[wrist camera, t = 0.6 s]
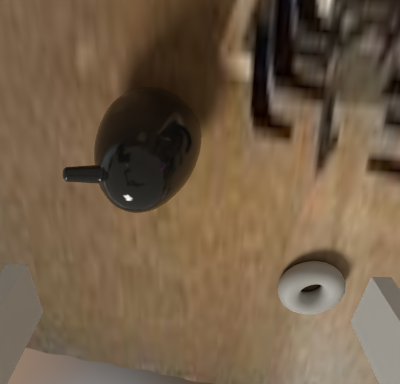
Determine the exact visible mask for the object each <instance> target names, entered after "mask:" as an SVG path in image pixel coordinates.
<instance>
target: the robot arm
mask: <svg viewBox="0 0 400 384" xmlns="http://www.w3.org/2000/svg"><path fill="white" fill-rule="evenodd" d="M42 314H43V310H42V307H41V304H40V301H39V298H38V295H37V292H36V289H35V286H34V283H33V280H32V277H31V274H30V271H29V268H28V265H22V264H7V265H6V266H5V267H4V269H3V270H2V271H1V273H0V384H7V383H8V381H9V379H10V377H11V375H12V373H13V371H14V369H15V367H16V365H17V363H18V361H19V359H20V357H21V355H22V353H23V351H24V349H25V347H26V345H27V344H28V342H29V340H30V338H31V336H32V334H33V332H34V330H35V328H36V326H37V324H38V322H39V320H40V318H41V316H42ZM350 323H351V325H352V327H353V329H354V331H355V333H356V335H357V337H358V340H359V342H360V344H361V346H362V348H363V350H364V352H365V354H366V357H367V359H368V361H369V363H370V365H371V367H372V369H373V371H374V374H375V376H376V378H377V380H378V382H379V384H400V289H399V288H398V286H397V285H396V284H395V282H394V281H393V279H392V278H390V277H371V279H370V282H369V284H368V286H367V288H366V290H365V292H364V294H363V296H362V299H361V301H360V303H359V305H358V307H357V309H356V311H355V314H354V316H353V318H352V320H351V322H350Z"/></svg>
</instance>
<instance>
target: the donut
mask: <svg viewBox="0 0 400 384" xmlns="http://www.w3.org/2000/svg"><path fill="white" fill-rule="evenodd" d="M315 284H319V285H321V286H320V287H319V288H318V289H316V290H314V291H310V292H302V291H301V290H302V289H303V288H305V287H307V286H309V285H315ZM345 284H346V283H345V280H344V278H343V275H342V273H341V272H340V271H339V270H338V269H336V268H335V267H334V266H333V265H330V264H328V263H325V262H320V261H309V262H303V263H300V264H297V265H295V266H293V267H292V268H290V269H289V270H287V271H286V272H285V273H284V274H283V276H282V277H281V279H280V281H279V284H278V296H279V298H280V300H281V301H282V303H283V304H284V305H285V306H286V307H287V308H289V309H290V310H291V311H294V312H297V313H300V314H318V313H321V312H324V311H327V310H329V309H331V308H332V307H334V306H335V305H336V304H337V303H338V302H339V301H340V300H341V299H342V297H343V295H344V293H345Z"/></svg>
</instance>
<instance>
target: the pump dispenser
mask: <svg viewBox="0 0 400 384" xmlns="http://www.w3.org/2000/svg"><path fill="white" fill-rule="evenodd" d="M200 148H201V131H200V126H199V123H198V120H197V118H196V116H195V114H194V112H193V111H192V109H191V108H190V107H189V106H188V105H187V104H186V103H185V102H184V101H183V100H182V99H181V98H179V97H178V96H176V95H175V94H173V93H171V92H169V91H166V90H163V89H159V88H153V87H144V88H137V89H133V90H131V91H128V92H126V93H124V94H123V95H121V96H120V97H118V98H117V99H116V100H115V101H114V102H113V103H112V104H111V105H110V107H109V108H108V110H107V111H106V113H105V115H104V116H103V119H102V121H101V123H100V126H99V129H98V132H97V136H96V140H95V148H94V162H95V165H91V166H77V167H66V168H64V170H63V179H64V180H65V181H67V182H85V183H99V185H100V187H101V189H102V191H103V193H104V194H105V196H106V197H107V198H108V199H109V201H110V202H111V203H113V204H114V205H115V206H116V207H118V208H120V209H122V210H125V211H128V212H133V213H141V212H147V211H151V210H154V209H156V208H158V207H160V206H162V205H163V204H165V203H166V202H168V201H169V200H170V199H171V198H172V197H173V196H175V195H176V194H177V193H178V192H179V190H180V189H181V188H182V187H183V186H184V185H185V183H186V182H187V180H188V179H189V177H190V176H191V174H192V172H193V170H194V168H195V165H196V162H197V160H198V156H199V153H200Z"/></svg>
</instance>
